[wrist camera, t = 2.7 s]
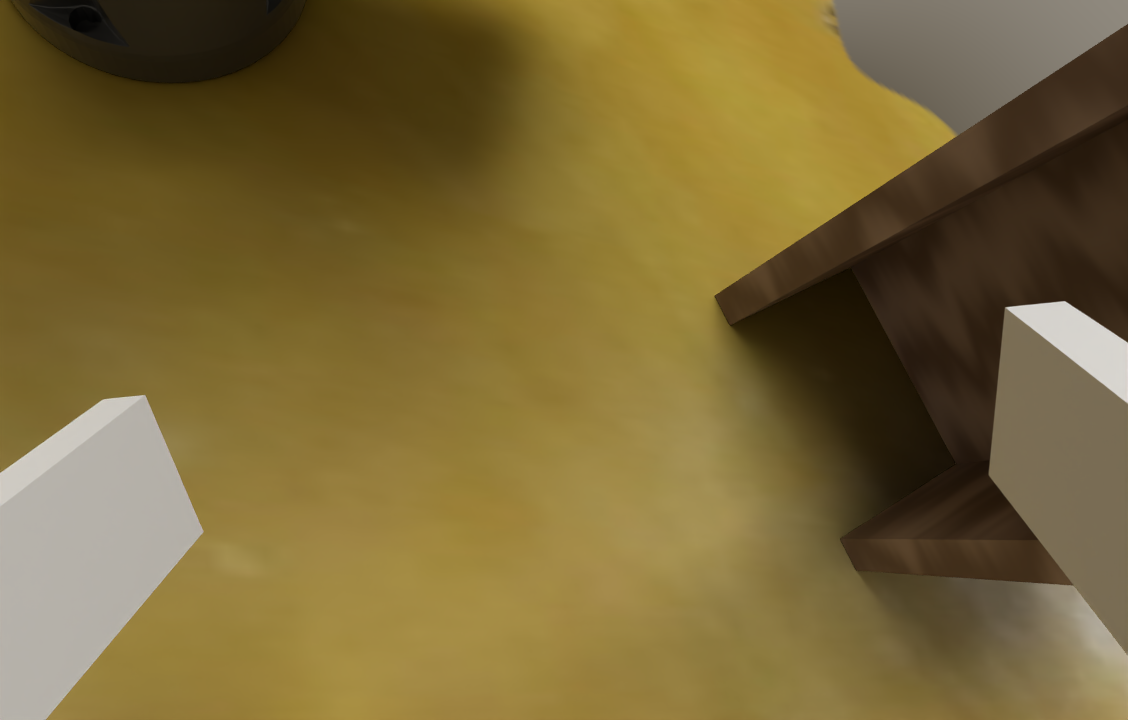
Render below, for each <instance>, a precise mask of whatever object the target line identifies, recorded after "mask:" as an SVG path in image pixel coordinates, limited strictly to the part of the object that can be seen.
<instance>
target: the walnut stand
mask: <svg viewBox="0 0 1128 720" xmlns="http://www.w3.org/2000/svg"><path fill="white" fill-rule="evenodd" d="M849 268H851V269H852V271H853V272H854V274H855V276H856V278H857V280H858V282H859V284H860V286H861V287H862V289H863V291H864V293H865V295H866V297H867V299H868V300H869V302H870V304H871V306H872V308H873V310H874V312H875V314H876V315H877V317H878V319H879V321H880V323H881V325H882V327H883V329H884V330H885V332H886V334H887V336H888V338H889V340H890V342H891V343H892V345H893V347H894V349H895V351H896V353H897V355H898V357H899V358H900V360H901V362H902V364H903V366H904V368H905V370H906V372H907V373H908V375H909V377H910V379H911V381H912V383H913V385H914V386H915V388H916V390H917V392H918V394H919V396H920V398H921V400H922V401H923V403H924V405H925V407H926V409H927V411H928V413H929V414H930V416H931V418H932V420H933V422H934V424H935V426H936V428H937V429H938V431H939V433H940V435H941V437H942V439H943V441H944V443H945V444H946V446H947V448H948V450H949V452H950V454H951V456H952V457H953V459H954V461H955V463H956V464H955V465H954V466H952V467H951V468H949V469H948V470H946V471H944V472H943V473H941V474H940V475H938V476H937V477H935V478H934V479H932V480H930V481H929V482H927V483H926V484H924V485H923V486H921V487H920V488H918V489H917V490H915V491H913V492H912V493H910V494H909V495H907V496H906V497H904V498H903V499H901V500H899V501H898V502H896V503H895V504H893V505H892V506H890V507H889V508H887V509H886V510H884V511H882V512H881V513H879V514H878V515H876V516H875V517H873V518H872V519H870V520H869V521H867V522H865V523H864V524H862V525H861V526H859V527H858V528H856V529H855V530H853V531H851V532H850V533H848V534H847V535H845V536H844V537H842V538H841V539H840V540H841V542H842V544H843V546H844V548H845V550H846V551H847V553H848V555H849V557H850V559H851V561H852V563H853V565H854V567H855V569H856V570H858V571H873V572H887V573H902V574H916V575H930V576H945V577H959V578H974V579H988V580H1003V581H1017V582H1032V583H1046V584H1061V585H1073V584H1072V582H1071V581H1070V580H1069V579H1068V577H1067V576H1066V575H1065V573H1064V572H1063V571H1062V569H1061V568H1060V567H1059V566H1058V564H1057V563H1056V562H1055V560H1054V559H1053V558H1052V557H1051V555H1050V554H1049V553H1048V551H1047V550H1046V549H1045V547H1044V546H1043V545H1042V544H1041V542H1040V541H1039V540H1038V538H1037V537H1036V536H1035V535H1034V533H1033V532H1032V531H1031V529H1030V528H1029V527H1028V525H1027V524H1026V523H1025V522H1024V520H1023V519H1022V518H1021V516H1020V515H1019V514H1018V513H1017V511H1016V510H1015V509H1014V507H1013V506H1012V505H1011V503H1010V502H1009V501H1008V500H1007V498H1006V497H1005V496H1004V494H1003V493H1002V492H1001V490H1000V489H999V488H998V487H997V485H996V484H995V483H994V481H993V480H992V479H991V478H990V476H989V465H990V455H991V445H992V435H993V425H994V415H995V404H996V394H997V384H998V374H999V364H1000V354H1001V343H1002V333H1003V323H1004V313H1005V307H1013V306H1023V305H1033V304H1043V303H1052V302H1062V301H1065V302H1067V303H1068V304H1070V305H1071V306H1073V307H1074V308H1076V309H1077V310H1079V311H1081V312H1082V313H1084V314H1085V315H1087V316H1088V317H1090V318H1091V319H1093V320H1094V321H1096V322H1097V323H1099V324H1100V325H1102V326H1103V327H1105V328H1106V329H1108V330H1109V331H1111V332H1112V333H1114V334H1115V335H1117V336H1118V337H1120V338H1121V339H1123V340H1124V341H1126V342H1127V343H1128V24H1127V25H1126V26H1124V27H1123V28H1121V29H1120V30H1118V31H1116V32H1115V33H1113V34H1112V35H1110V36H1109V37H1107V38H1106V39H1104V40H1103V41H1101V42H1100V43H1098V44H1097V45H1095V46H1094V47H1092V48H1091V49H1089V50H1088V51H1086V52H1085V53H1083V54H1082V55H1080V56H1078V57H1077V58H1075V59H1074V60H1072V61H1071V62H1070V63H1068V64H1066V65H1065V66H1063V67H1062V68H1060V69H1059V70H1057V71H1056V72H1054V73H1053V74H1051V75H1050V76H1048V77H1047V78H1045V79H1043V80H1042V81H1041V82H1039V83H1038V84H1036V85H1034V86H1033V87H1031V88H1030V89H1028V90H1027V91H1025V92H1024V93H1022V94H1021V95H1019V96H1018V97H1016V98H1015V99H1013V100H1012V101H1010V102H1008V103H1007V104H1005V105H1004V106H1002V107H1001V108H1000V109H998V110H996V111H995V112H993V113H992V114H990V115H989V116H987V117H986V118H984V119H983V120H981V121H980V122H978V123H977V124H975V125H974V126H973V127H970V128H969V129H967V130H966V131H964V132H963V133H961V134H960V135H958V136H957V137H955V138H954V139H952V140H951V141H949V142H948V143H946V144H945V145H943V146H942V147H940V148H939V149H937V150H935V151H934V152H932V153H931V154H929V155H928V156H926V157H925V158H923V159H922V160H920V161H919V162H917V163H916V164H914V165H913V166H911V167H910V168H908V169H907V170H905V171H904V172H902V173H901V174H899V175H897V176H896V177H894V178H893V179H891V180H890V181H888V182H887V183H885V184H884V185H882V186H881V187H879V188H878V189H876V190H875V191H873V192H872V193H870V194H869V195H867V196H866V197H864V198H862V199H861V200H859V201H858V202H856V203H855V204H853V205H852V206H850V207H849V208H847V209H846V210H844V211H843V212H841V213H840V214H838V215H837V216H835V217H834V218H832V219H831V220H829V221H828V222H826V223H824V224H823V225H821V226H820V227H818V228H817V229H815V230H814V231H812V232H811V233H809V234H808V235H806V236H805V237H803V238H802V239H800V240H799V241H797V242H796V243H794V244H793V245H791V246H790V247H788V248H786V249H785V250H783V251H782V252H780V253H779V254H777V255H776V256H774V257H773V258H771V259H770V260H768V261H767V262H765V263H764V264H762V265H761V266H759V267H758V268H756V269H755V270H753V271H751V272H750V273H748V274H747V275H745V276H744V277H742V278H741V279H739V280H738V281H736V282H735V283H733V284H732V285H730V286H729V287H727V288H726V289H724V290H723V291H721V292H720V293H718V294H717V295H715V297H716V299H717V301H718V303H719V305H720V307H721V309H722V311H723V313H724V315H725V317H726V319H727V321H728V323H729V324H730V325H732V324H734V323H736V322H738V321H740V320H742V319H744V318H746V317H748V316H750V315H752V314H755V313H757V312H759V311H761V310H763V309H765V308H767V307H769V306H771V305H773V304H775V303H778V302H780V301H782V300H784V299H786V298H788V297H790V296H792V295H794V294H796V293H798V292H801V291H803V290H805V289H807V288H809V287H811V286H813V285H815V284H817V283H819V282H821V281H824V280H826V279H828V278H830V277H832V276H834V275H836V274H838V273H840V272H842V271H844V270H847V269H849Z"/></svg>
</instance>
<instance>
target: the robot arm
mask: <svg viewBox="0 0 1128 720" xmlns="http://www.w3.org/2000/svg"><path fill="white" fill-rule="evenodd" d="M11 1H12V2H13V4H14V6H15V7H16V8H17V10H18V11H19V12H20V14H21V15H22V16H23V17H24V19H25V20H26V21H27V22H28V23H29V24H30V25H31V26H32V27H33V28H34V29H35V30H36V31H37V32H38V33H39V34H40V35H41V36H42V37H44V38H45V39H46V40H47V41H49V42H50V43H51V44H53V45H54V46H55V47H57V48H58V49H60V50H61V51H63V52H64V53H66V54H68V55H70V56H71V57H73V58H75V59H77V60H79V61H81V62H83V63H85V64H87V65H89V66H92V67H94V68H97V69H99V70H102V71H105V72H108V73H111V74H115V75H118V76H122V77H126V78H131V79H136V80H142V81H150V82H165V83H178V82H193V81H200V80H206V79H211V78H215V77H219V76H223V75H226V74H229V73H232V72H235V71H237V70H240V69H242V68H244V67H246V66H248V65H250V64H252V63H254V62H256V61H257V60H259V59H261V58H262V57H264V56H265V55H266V54H268V53H269V52H270V51H272V50H273V49H274V48H275V47H276V46H277V45H278V44H280V43H281V42H282V40H283V39H284V38H285V37H286V36H287V35H288V34H289V32H290V31H291V30H292V28H293V27H294V25H295V24H296V22H297V20H298V18H299V16H300V15H301V12H302V10H303V7H304V5H305V1H306V0H11ZM989 476H990V478H991V479H992V480H993V481H994V483H995V484H996V485H997V487H998V488H999V489H1000V490H1001V492H1002V493H1003V494H1004V496H1005V497H1006V498H1007V500H1008V501H1009V502H1010V503H1011V505H1012V506H1013V507H1014V509H1015V510H1016V511H1017V513H1018V514H1019V515H1020V516H1021V518H1022V519H1023V520H1024V522H1025V523H1026V524H1027V525H1028V527H1029V528H1030V529H1031V531H1032V532H1033V533H1034V535H1035V536H1036V537H1037V538H1038V540H1039V541H1040V542H1041V544H1042V545H1043V546H1044V547H1045V549H1046V550H1047V551H1048V553H1049V554H1050V555H1051V557H1052V558H1053V559H1054V560H1055V562H1056V563H1057V564H1058V566H1059V567H1060V568H1061V569H1062V571H1063V572H1064V573H1065V575H1066V576H1067V577H1068V579H1069V580H1070V581H1071V582H1072V584H1073V585H1074V586H1075V588H1076V589H1077V590H1078V592H1079V593H1080V594H1081V595H1082V597H1083V598H1084V599H1085V601H1086V602H1087V603H1088V604H1089V606H1090V607H1091V608H1092V610H1093V611H1094V612H1095V614H1096V615H1097V616H1098V617H1099V619H1100V620H1101V621H1102V623H1103V624H1104V625H1105V626H1106V628H1107V629H1108V630H1109V632H1110V633H1111V634H1112V636H1113V637H1114V638H1115V639H1116V641H1117V642H1118V643H1119V645H1120V646H1121V647H1122V649H1123V650H1124V651H1125V652H1126V654H1127V655H1128V343H1127V342H1126V341H1124V340H1123V339H1121V338H1120V337H1118V336H1117V335H1115V334H1114V333H1112V332H1111V331H1109V330H1108V329H1106V328H1105V327H1103V326H1102V325H1100V324H1099V323H1097V322H1096V321H1094V320H1093V319H1091V318H1090V317H1088V316H1087V315H1085V314H1084V313H1082V312H1081V311H1079V310H1077V309H1076V308H1074V307H1073V306H1071V305H1070V304H1068V303H1067V302H1065V301H1062V302H1052V303H1043V304H1033V305H1023V306H1013V307H1005V313H1004V323H1003V333H1002V343H1001V354H1000V364H999V374H998V384H997V394H996V404H995V415H994V425H993V435H992V445H991V455H990V465H989ZM202 533H203V530H202V527H201V525H200V523H199V520H198V518H197V516H196V513H195V511H194V509H193V506H192V504H191V501H190V499H189V497H188V494H187V492H186V490H185V487H184V485H183V483H182V480H181V478H180V476H179V473H178V471H177V469H176V466H175V464H174V462H173V459H172V457H171V455H170V452H169V450H168V447H167V445H166V443H165V440H164V438H163V436H162V433H161V431H160V429H159V426H158V424H157V422H156V419H155V417H154V415H153V412H152V410H151V408H150V405H149V403H148V401H147V398H146V396H145V395H141V396H131V397H121V398H112V399H103V400H101V401H100V402H99V403H97V404H96V405H95V406H93V407H92V408H90V409H89V410H88V411H86V412H85V413H83V414H82V415H81V416H79V417H78V418H76V419H75V420H74V421H72V422H71V423H69V424H68V425H67V426H65V427H64V428H62V429H61V430H60V431H58V432H57V433H55V434H54V435H53V436H51V437H50V438H48V439H47V440H46V441H44V442H43V443H41V444H40V445H39V446H37V447H36V448H35V449H33V450H32V451H30V452H29V453H28V454H26V455H25V456H23V457H22V458H21V459H19V460H18V461H16V462H15V463H14V464H12V465H11V466H9V467H8V468H7V469H5V470H4V471H2V472H1V473H0V720H46V719H47V717H48V716H49V715H50V714H51V713H52V711H53V710H54V709H55V708H56V707H57V705H58V704H59V703H60V702H61V701H62V699H63V698H64V697H65V696H66V695H67V694H68V692H69V691H70V690H71V689H72V688H73V686H74V685H75V684H76V683H77V682H78V680H79V679H80V678H81V677H82V676H83V675H84V673H85V672H86V671H87V670H88V669H89V667H90V666H91V665H92V664H93V663H94V661H95V660H96V659H97V658H98V657H99V655H100V654H101V653H102V652H103V651H104V650H105V648H106V647H107V646H108V645H109V644H110V642H111V641H112V640H113V639H114V638H115V636H116V635H117V634H118V633H119V632H120V631H121V629H122V628H123V627H124V626H125V625H126V623H127V622H128V621H129V620H130V619H131V617H132V616H133V615H134V614H135V613H136V611H137V610H138V609H139V608H140V607H141V606H142V604H143V603H144V602H145V601H146V600H147V598H148V597H149V596H150V595H151V594H152V592H153V591H154V590H155V589H156V588H157V586H158V585H159V584H160V583H161V582H162V581H163V579H164V578H165V577H166V576H167V575H168V573H169V572H170V571H171V570H172V569H173V567H174V566H175V565H176V564H177V563H178V562H179V560H180V559H181V558H182V557H183V556H184V554H185V553H186V552H187V551H188V550H189V548H190V547H191V546H192V545H193V544H194V542H195V541H196V540H197V539H198V538H199V537H200V535H201V534H202Z"/></svg>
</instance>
